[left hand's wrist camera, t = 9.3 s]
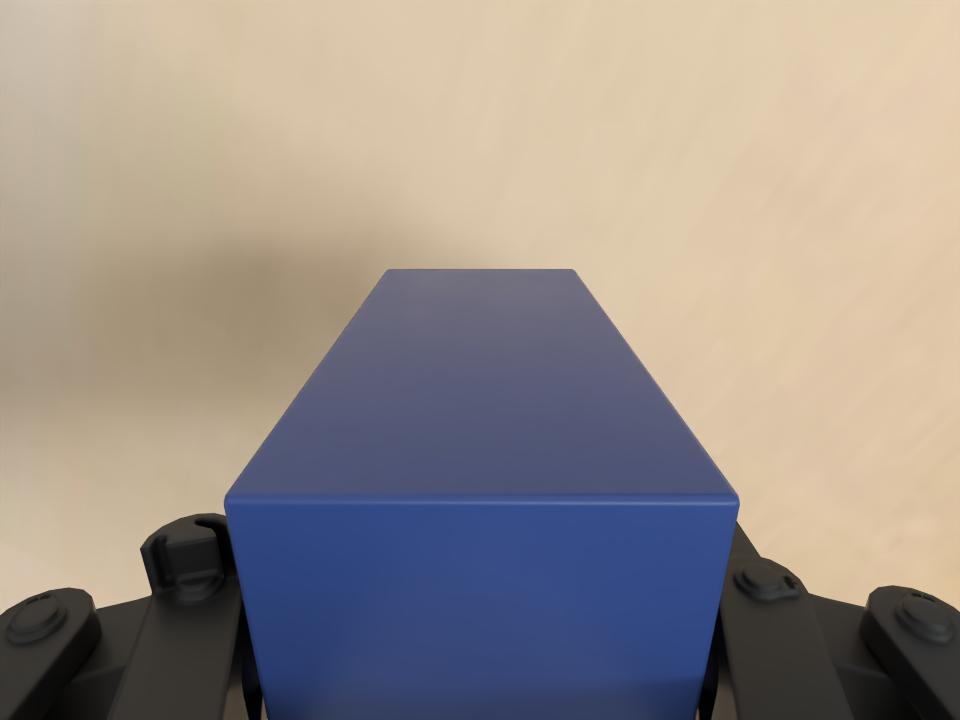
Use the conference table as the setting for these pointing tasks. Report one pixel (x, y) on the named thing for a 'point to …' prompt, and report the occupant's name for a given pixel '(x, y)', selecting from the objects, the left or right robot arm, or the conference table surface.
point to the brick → (481, 517)
